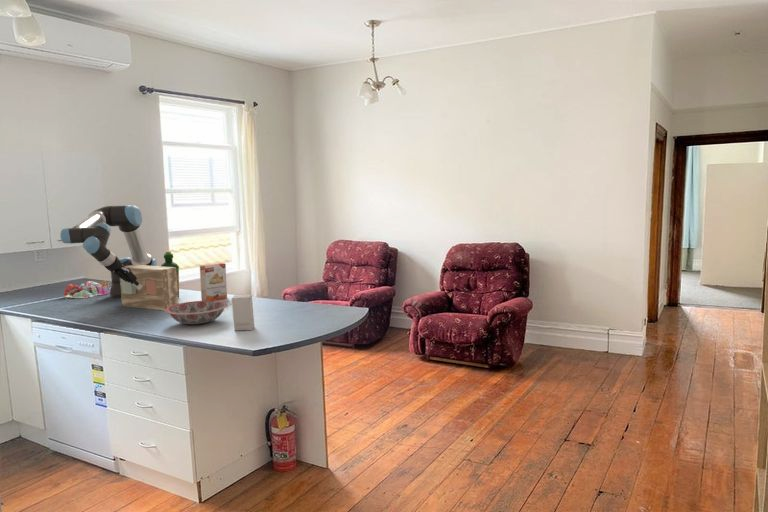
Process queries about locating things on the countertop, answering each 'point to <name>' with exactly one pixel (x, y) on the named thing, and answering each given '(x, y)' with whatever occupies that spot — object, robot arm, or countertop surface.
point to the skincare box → (243, 312)
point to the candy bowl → (87, 289)
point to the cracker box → (213, 281)
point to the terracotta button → (151, 287)
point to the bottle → (171, 265)
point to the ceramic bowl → (196, 311)
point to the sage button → (127, 287)
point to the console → (164, 286)
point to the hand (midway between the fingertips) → (140, 288)
